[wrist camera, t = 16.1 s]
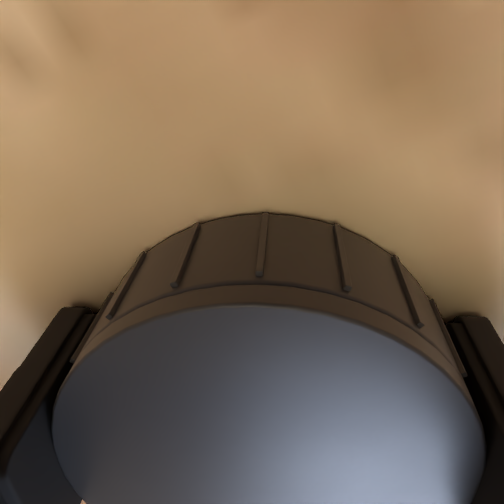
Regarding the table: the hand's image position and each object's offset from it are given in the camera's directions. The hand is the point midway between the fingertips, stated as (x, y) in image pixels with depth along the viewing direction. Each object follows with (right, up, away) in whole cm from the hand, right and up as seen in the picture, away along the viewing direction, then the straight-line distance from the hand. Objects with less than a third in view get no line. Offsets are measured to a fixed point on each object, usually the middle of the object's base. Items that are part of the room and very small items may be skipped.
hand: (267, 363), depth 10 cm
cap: (0, -1, -2) cm, 2 cm away
